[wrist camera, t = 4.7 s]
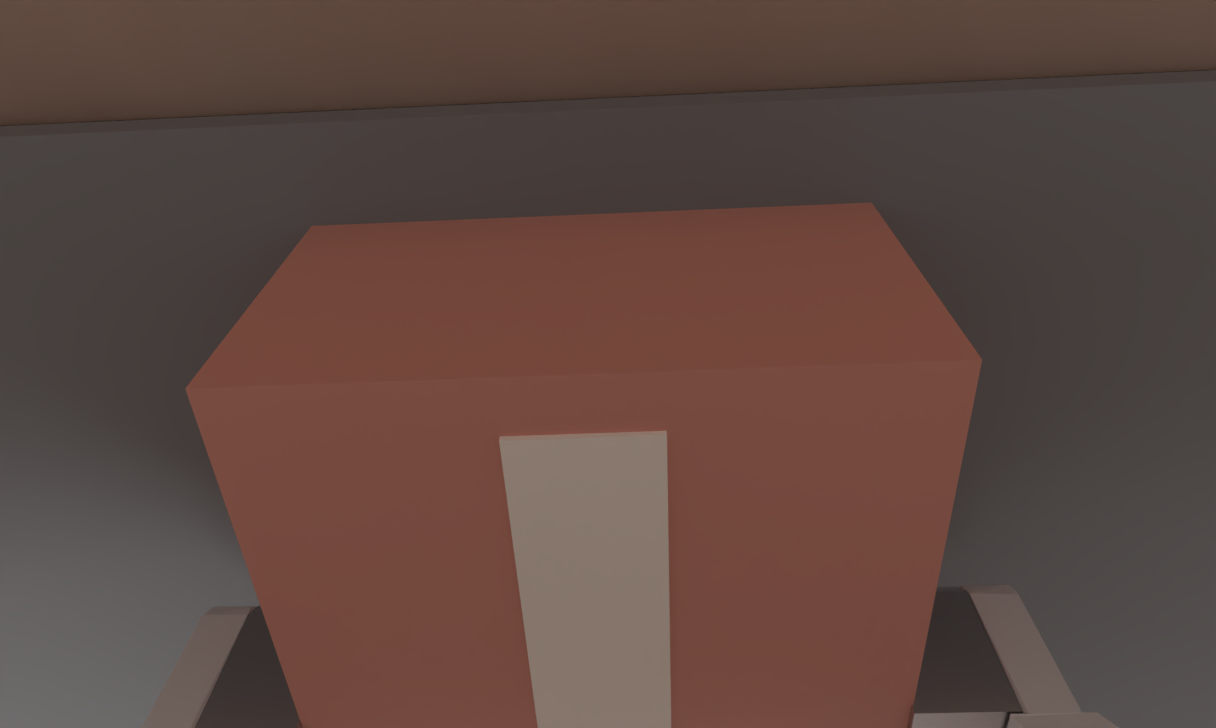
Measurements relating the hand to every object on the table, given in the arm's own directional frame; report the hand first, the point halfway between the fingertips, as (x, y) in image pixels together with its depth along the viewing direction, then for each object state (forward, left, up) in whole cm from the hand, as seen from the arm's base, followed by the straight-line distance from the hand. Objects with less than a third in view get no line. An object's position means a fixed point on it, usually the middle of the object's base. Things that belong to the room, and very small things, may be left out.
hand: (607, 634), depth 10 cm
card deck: (0, 0, -1) cm, 1 cm away
